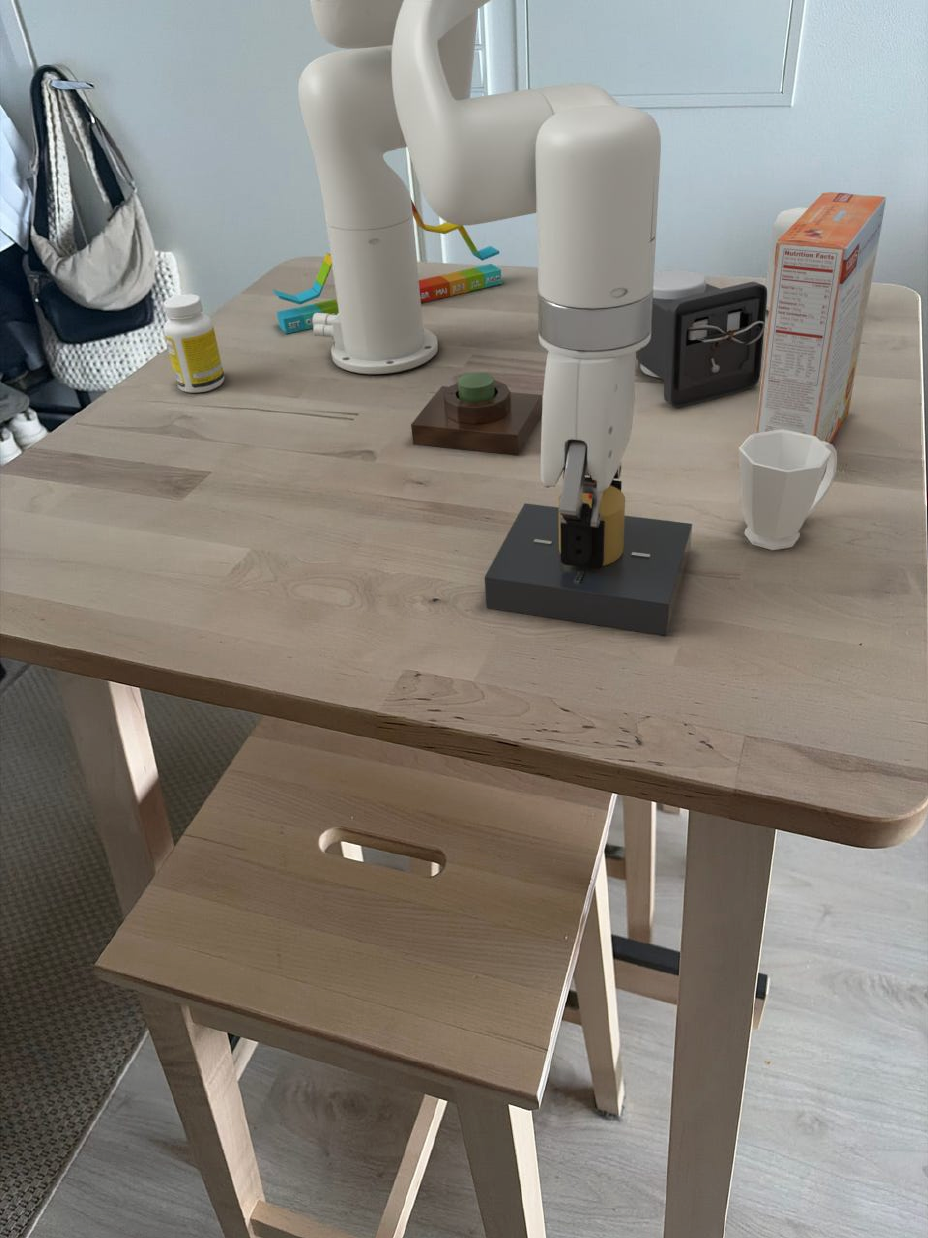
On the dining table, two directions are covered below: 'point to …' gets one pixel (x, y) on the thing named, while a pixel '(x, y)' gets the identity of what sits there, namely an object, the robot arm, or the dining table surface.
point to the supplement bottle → (192, 345)
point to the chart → (428, 287)
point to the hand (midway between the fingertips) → (591, 541)
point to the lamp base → (478, 421)
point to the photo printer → (779, 230)
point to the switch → (476, 387)
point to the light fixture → (704, 337)
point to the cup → (782, 484)
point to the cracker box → (818, 314)
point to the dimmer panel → (591, 574)
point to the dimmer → (609, 522)
